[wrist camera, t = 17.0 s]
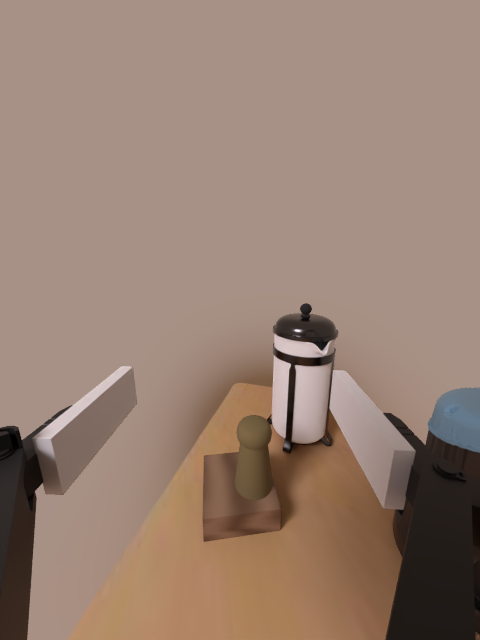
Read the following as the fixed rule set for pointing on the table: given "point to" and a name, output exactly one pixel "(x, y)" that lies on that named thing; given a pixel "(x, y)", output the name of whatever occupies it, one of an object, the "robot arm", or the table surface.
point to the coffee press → (302, 377)
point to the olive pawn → (253, 458)
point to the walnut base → (234, 503)
